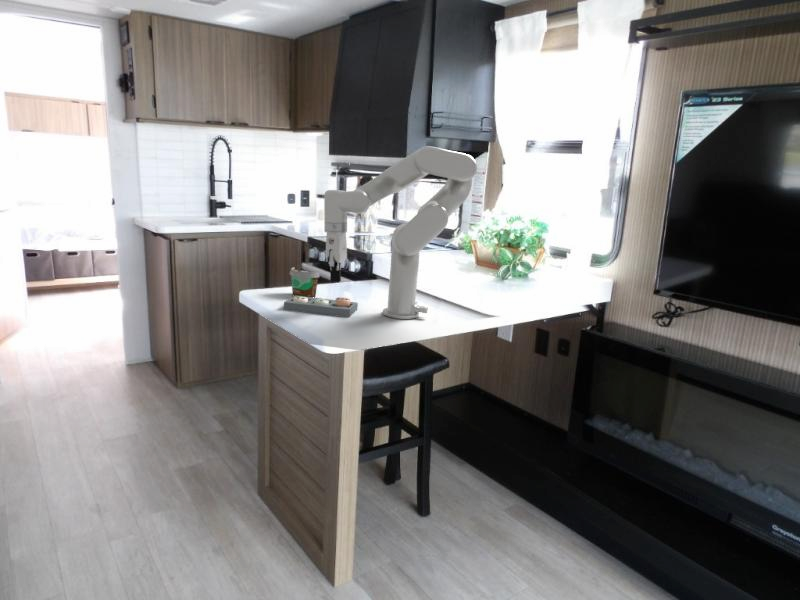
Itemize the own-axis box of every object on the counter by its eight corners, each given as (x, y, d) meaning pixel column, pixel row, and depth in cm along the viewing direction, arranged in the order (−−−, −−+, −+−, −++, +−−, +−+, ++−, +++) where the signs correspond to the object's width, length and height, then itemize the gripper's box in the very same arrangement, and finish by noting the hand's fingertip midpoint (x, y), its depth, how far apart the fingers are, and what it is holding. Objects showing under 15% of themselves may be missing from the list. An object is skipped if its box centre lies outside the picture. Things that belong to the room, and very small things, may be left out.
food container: (282, 295, 212) (282, 268, 209) (292, 292, 217) (293, 267, 215) (308, 300, 206) (309, 273, 204) (318, 297, 211) (319, 271, 209)
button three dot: (351, 306, 195) (351, 297, 195) (347, 310, 190) (348, 301, 190) (337, 305, 196) (337, 296, 195) (333, 308, 191) (333, 299, 190)
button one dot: (330, 308, 197) (330, 299, 196) (326, 311, 192) (326, 302, 191) (316, 306, 197) (316, 298, 197) (312, 310, 193) (312, 301, 192)
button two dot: (309, 306, 198) (310, 297, 197) (305, 309, 193) (305, 300, 192) (296, 304, 198) (296, 295, 198) (291, 307, 194) (291, 298, 193)
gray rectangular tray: (357, 309, 198) (357, 302, 198) (349, 317, 188) (349, 309, 187) (294, 302, 202) (295, 295, 201) (283, 309, 191) (284, 302, 190)
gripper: (340, 230, 180) (340, 286, 184) (352, 226, 194) (351, 278, 198) (317, 229, 181) (318, 285, 185) (331, 225, 196) (331, 277, 200)
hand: (335, 281), depth 192 cm, fingers closed
